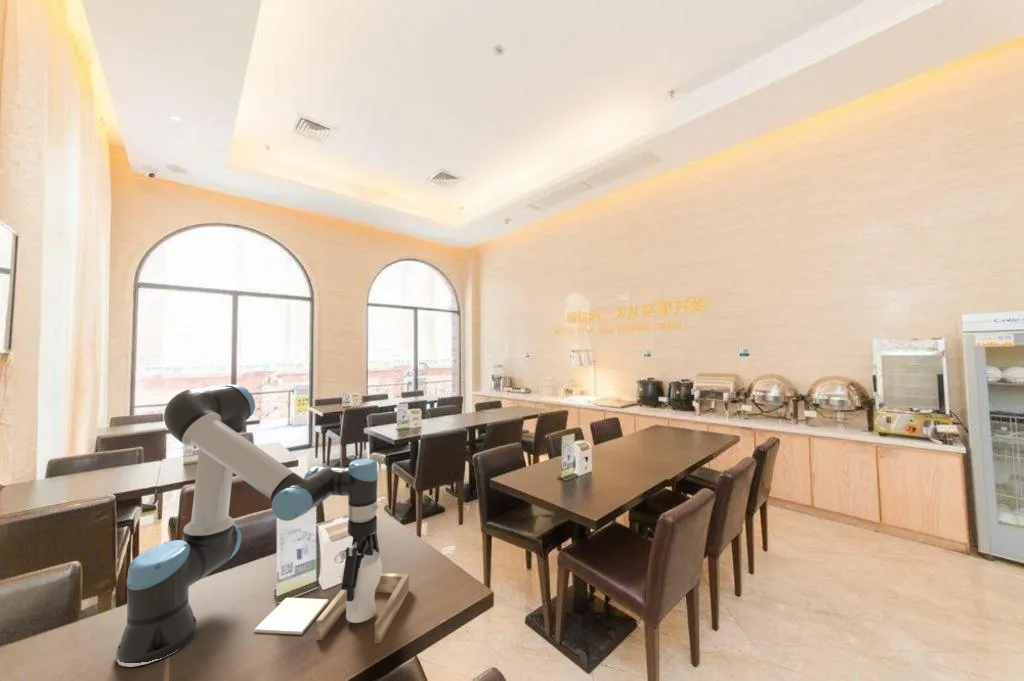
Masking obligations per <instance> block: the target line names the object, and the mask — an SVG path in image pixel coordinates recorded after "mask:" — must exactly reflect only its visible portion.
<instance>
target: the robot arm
mask: <svg viewBox="0 0 1024 681" xmlns="http://www.w3.org/2000/svg"><path fill="white" fill-rule="evenodd" d="M255 408H256V402H255V398H254V396H253V395H252V393H251V392H250V391H249V390H248V389H247V388H246V387H244V386H242V385H239V384H220V385H214V386H213V385H212V386H205V387H199V388H196V387H195V388H189V389H186V390H183V391H181V392H179V393H177V394H175V395H174V397H172V398H171V399H170V401H169V402H168V403H167V405H166V407H165V409H164V413H163V420H164V421H163V422H164V424H165V426H166V428H167V429H166V430H168V432H169V433H170V434H171V436H173V438H175V439H176V440H178V441H179V442H180V443H181V444H183V445H184V446H186V447H193V446H195V448H198V453H197V454H198V455H197V464H196V474H195V481H194V491H193V502H192V511H191V520H190V521H189V522H188V523H186V524H185V526H184V527H183V531H182V539H177V540H168V541H166V542H163V543H162V544H155V545H154V546H152V547H150V548H148V549H146V550H144V551H142V552H141V553H140V554H138V555H137V556H136V557H135V558H133V560H132V561H131V562H130V564H129V567H128V571H127V577H126V587H127V588H126V592H127V594H126V597H127V599H126V603H127V604H126V625H125V628H124V631H123V633H122V636H121V639H120V640H121V641H120V642H119V644H118V646H117V649H116V652H115V653H116V654H115V656H116V657H117V659H118V660H119V661H120V662H124V663H141V662H149V661H152V660H155V659H160V658H163V657H165V656H167V655H169V654H171V653H173V652H175V651H176V650H178V649H180V648H181V649H183V648H184V647H185V646H187V645H188V644H189V643H191V641H192V640H193V639H194V637H195V636H196V633H197V631H198V629H197V628H198V626H197V625H198V621H197V618H196V616H195V615H194V612H193V610H192V607H191V606H190V603H189V602H190V601H189V592H190V591H189V588H190V587H191V586H192V585H194V584H195V583H197V582H198V581H200V580H201V579H202V578H204V577H206V576H208V575H209V574H210V573H213V571H215V570H217V569H218V568H221V567H222V566H224V565H225V564H226V563H227V562H228V561H229V560H231V559H232V558H233V557H234V556H235V555H236V554H237V552H238V550H239V548H240V547H241V543H242V533H241V530H240V529H238V528H239V526H238V525H237V524H236V523H235V520H234V518H233V517H231V516H230V515H229V514H230V511H229V510H230V503H231V502H230V501H231V492H232V484H233V474H234V475H236V476H237V477H239V478H240V479H242V480H243V481H245V482H246V483H247V484H248V485H250V486H251V487H252V488H254V489H255V490H257V491H258V492H259V493H261V494H263V495H264V496H265V497H267V498H268V499H269V500H271V501H272V502H271V510H272V512H273V513H274V515H275V517H276V518H277V519H279V520H280V521H284V522H285V521H286V522H288V521H293V520H296V519H297V518H300V517H301V516H304V515H305V514H307V513H308V512H309V511H310V510H311V509H312V508H315V506H317V505H319V504H320V503H322V502H323V501H325V500H327V499H328V498H329V497H330V496H339V497H340V496H343V497H345V496H346V497H347V500H348V504H347V506H348V507H347V518H348V520H347V533H348V535H349V536H351V537H352V543H351V546H350V547H349V546H348V547H346V549H345V558H346V561H345V567H344V574H343V581H342V582H341V589H340V590H346V609H345V612H356V611H357V599H358V585H356V582H357V578H358V569H359V568H360V564H361V560H362V558H364V554H365V555H370V556H372V555H373V551H376V552H378V553H379V554H380V547H379V540H378V535H377V534H378V532H377V531H378V530H377V529H378V517H377V514H378V512H377V511H378V509H379V505H378V478H379V474H378V463H377V461H375V459H372V458H359V459H355V460H352V461H350V463H349V464H348V466H347V467H346V466H345V467H344V466H328V465H321V466H320V465H317V466H312V467H310V468H309V469H308V471H307V472H306V473H305V475H304V477H302V476H300V475H299V474H297V473H296V472H294V471H293V470H292V469H290V468H288V467H287V466H286V465H285V464H282V463H281V462H280V461H278V460H277V459H276V458H274V457H273V456H271V455H270V454H268V452H265V451H264V450H263V449H262V448H260V447H258V446H257V445H256V444H254V443H253V442H252V441H250V440H248V439H247V438H246V437H244V436H243V435H241V434H242V433H243V432H244V430H245V429H244V426H245V422H246V421H247V420H249V419H250V417H252V415H253V414H254V412H255ZM357 554H361V555H357ZM187 643H188V644H187ZM186 644H187V645H186ZM183 646H184V647H183ZM182 647H183V648H182ZM181 649H180V650H181ZM178 651H179V650H178ZM175 653H176V652H175Z"/></svg>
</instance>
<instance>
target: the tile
mask: <svg viewBox="0 0 1024 681" xmlns="http://www.w3.org/2000/svg"><path fill="white" fill-rule="evenodd" d="M328 603H329V599H328V598H307V597H306V598H305V597H285V598H284V599H283V600H282V601H281V603H279V604H278V606H277V607H275V608H274V609H273V610H272V611H271V612H270V613H269V614H268V615H267V616H266V617H265V618H263V620H262V621H261V622H260V623H259V624H258V625H257V626H256V627H255V628H254V633H259V634H261V633H262V634H280V635H281V634H282V635H283V634H284V635H285V634H286V635H303V633H305V630H307V629H308V628H309V627H310V625H311V624H312V622H313V621H314V620H315V619H316V617H318V615H319V614H320V613H321V612H322V610H323V609H324V608H325V607H326V606H327V604H328Z"/></svg>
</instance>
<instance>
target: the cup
mask: <svg viewBox="0 0 1024 681" xmlns="http://www.w3.org/2000/svg"><path fill="white" fill-rule="evenodd" d="M380 554H381V553H380V552H379V553H378V552H376V550H375V551H373V555H372V556H370V555H365V554H364V558H362V560H361V564H360V568H359V569H358V578H357V582H356V585H358V599H357V611H356V612H346V611H345V612H346V613H345V614H346V615H345V618H346V620H347V621H348V622H349V623H353V624H358V623H364V622H366V621H368V620H370V619H372V618H373V617H374V615H375V614H376V611H377V608H376V607H377V606H376V600H375V594H376V592H375V589H376V587H377V585H378V583H379V581H380V577H381V574H382V573H383V564H382V559H381V555H380ZM357 555H361V554H357ZM345 561H346V557H345V558H344V560H343V563H342V566H341V571H340V582H341V583H342V581H343V574H344V567H345ZM345 592H346V590H345Z"/></svg>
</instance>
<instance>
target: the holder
mask: <svg viewBox="0 0 1024 681" xmlns="http://www.w3.org/2000/svg"><path fill="white" fill-rule="evenodd" d="M409 591H410V574H409V573H393V572H392V573H388V572H382V574H381V577H380V581H379V583H378V585H377V587H376V589H375V593H391V595H390V597H388V598H389V599H388V600H387V602H386V604H385V605H384V607H383V608H382V610H381V612H380V614H379V616H378V618H376V620H375V622H374V643H375V644H381V643H382V642H383V640H384V637H385V636H386V634H387V632H388V630H389V628H390V626H391V625H392V623H393V621H394V619H395V618H396V615H397V614H398V611H399V609H400V608H401V606H402V604H403V602H404V600H405V598H406V597H407V595H408V593H409ZM344 611H346V592H345V590H342V589H340V590H339V592H338V593H337V594H336V595H335V597H334V598H333V599H332V600H331V602H330V603H329V604H328V605H327V607H326V608H325V609H324V610H323V611H322V613H321V614H320V615H319V617H318V618H317V619H316V637H315V638H316V641H322V640H324V638H325V637H326V635H327V634H328V633H329V632H330V630H331V629H332V627H333V626H334V625H335V623H336V622H337V621H338V619H340V617H341V615H342V613H344Z"/></svg>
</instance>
